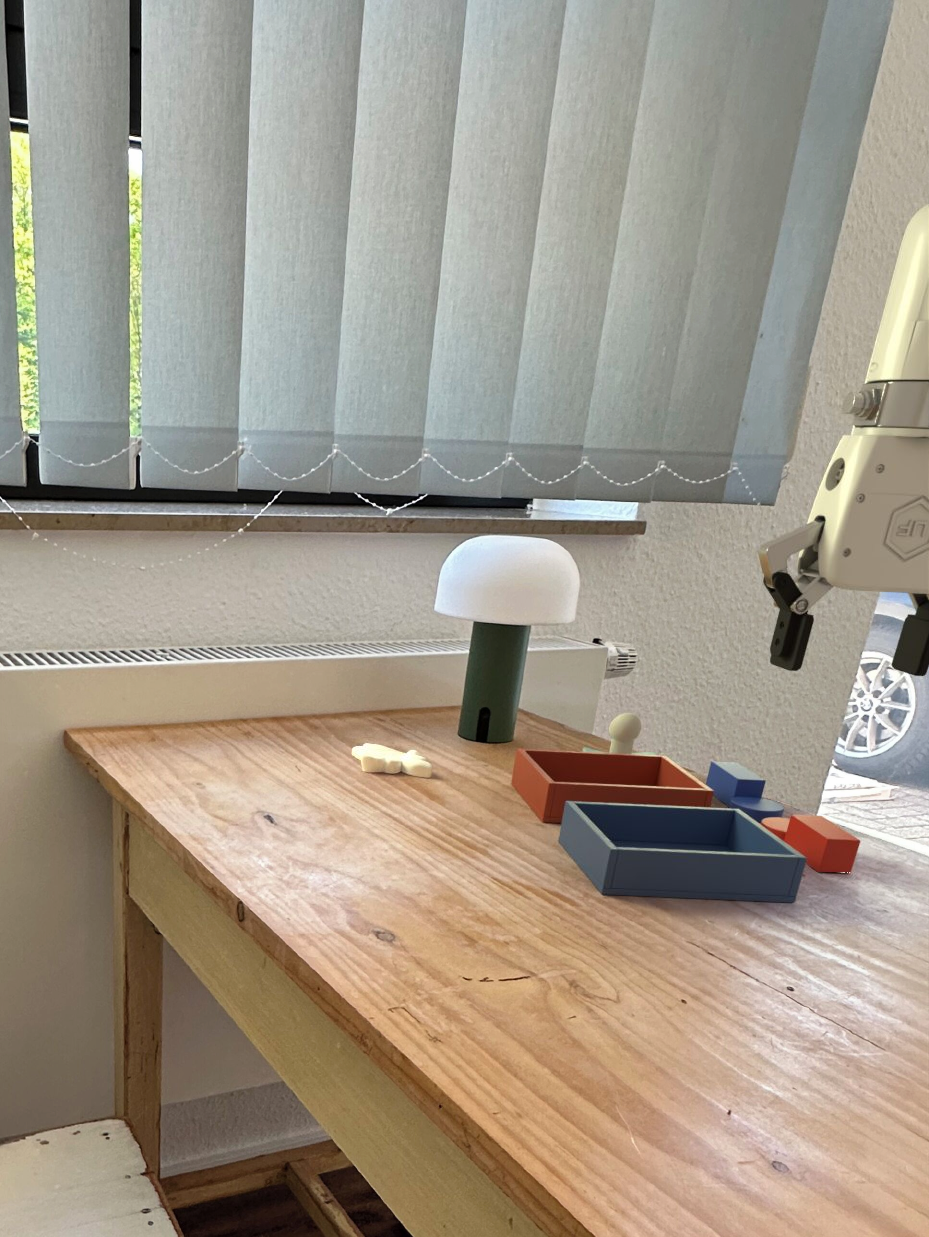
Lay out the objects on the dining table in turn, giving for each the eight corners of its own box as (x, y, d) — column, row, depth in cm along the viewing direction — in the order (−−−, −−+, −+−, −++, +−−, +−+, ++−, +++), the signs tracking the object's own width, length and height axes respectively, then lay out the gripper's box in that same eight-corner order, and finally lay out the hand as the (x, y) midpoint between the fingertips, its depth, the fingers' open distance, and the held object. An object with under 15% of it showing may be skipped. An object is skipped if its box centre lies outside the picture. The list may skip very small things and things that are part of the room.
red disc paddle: (862, 874, 84) (872, 840, 83) (806, 872, 84) (816, 838, 82) (798, 831, 93) (807, 800, 92) (749, 828, 93) (757, 798, 92)
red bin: (657, 790, 102) (665, 755, 101) (705, 829, 92) (714, 790, 91) (510, 784, 102) (516, 748, 100) (542, 822, 92) (549, 783, 90)
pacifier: (571, 761, 111) (583, 776, 106) (582, 701, 109) (594, 713, 103) (643, 767, 111) (659, 781, 105) (655, 706, 108) (672, 718, 103)
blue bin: (728, 849, 88) (739, 808, 86) (794, 903, 78) (807, 858, 76) (557, 841, 87) (565, 800, 86) (601, 894, 77) (610, 849, 76)
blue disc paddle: (695, 788, 104) (701, 760, 103) (739, 790, 104) (746, 762, 103) (741, 822, 94) (748, 792, 93) (790, 825, 95) (798, 794, 93)
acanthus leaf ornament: (431, 779, 102) (434, 760, 102) (360, 776, 102) (362, 757, 101) (418, 757, 109) (420, 739, 108) (351, 754, 109) (352, 736, 108)
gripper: (829, 406, 68) (761, 675, 75) (1080, 422, 70) (990, 685, 77) (767, 409, 75) (710, 656, 82) (998, 423, 77) (922, 664, 84)
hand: (846, 669), depth 79 cm, fingers open, 9 cm apart
